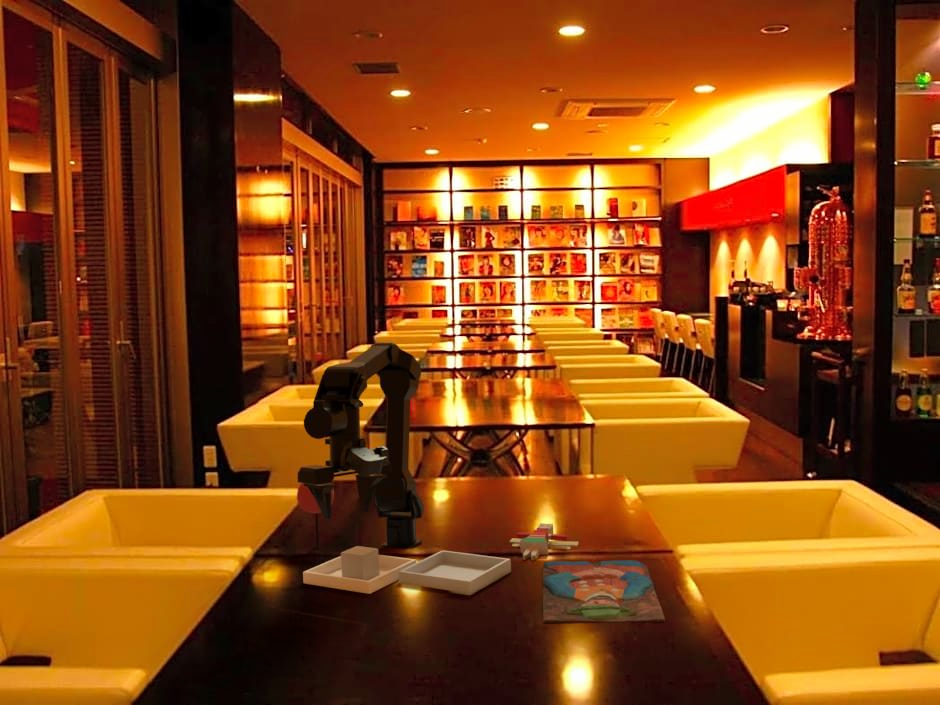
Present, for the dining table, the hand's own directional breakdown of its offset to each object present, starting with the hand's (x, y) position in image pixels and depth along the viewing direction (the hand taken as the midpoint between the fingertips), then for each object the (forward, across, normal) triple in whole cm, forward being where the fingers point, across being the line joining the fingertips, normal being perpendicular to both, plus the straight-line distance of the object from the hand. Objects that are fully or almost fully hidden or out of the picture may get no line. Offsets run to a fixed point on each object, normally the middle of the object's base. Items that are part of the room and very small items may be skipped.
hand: (346, 516), depth 191 cm
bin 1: (+12, +2, -1) cm, 12 cm away
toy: (+11, +36, -17) cm, 42 cm away
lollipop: (+11, +12, +23) cm, 28 cm away
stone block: (+12, +2, -1) cm, 12 cm away
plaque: (+13, +21, -42) cm, 49 cm away
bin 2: (+12, +13, -16) cm, 24 cm away
